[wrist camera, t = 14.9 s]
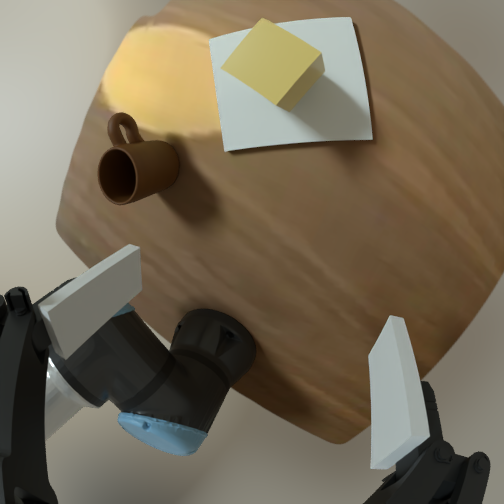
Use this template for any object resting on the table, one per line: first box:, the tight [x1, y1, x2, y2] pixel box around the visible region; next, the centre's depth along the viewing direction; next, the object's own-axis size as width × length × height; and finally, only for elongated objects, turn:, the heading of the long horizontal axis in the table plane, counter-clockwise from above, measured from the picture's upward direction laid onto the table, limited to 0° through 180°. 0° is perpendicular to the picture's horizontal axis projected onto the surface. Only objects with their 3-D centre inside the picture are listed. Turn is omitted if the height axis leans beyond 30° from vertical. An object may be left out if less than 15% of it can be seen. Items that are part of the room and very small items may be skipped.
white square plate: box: [209, 17, 373, 151], centre depth 24 cm, size 18×16×9 cm
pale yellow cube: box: [221, 18, 325, 112], centre depth 22 cm, size 6×6×7 cm
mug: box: [98, 112, 179, 205], centre depth 32 cm, size 12×8×9 cm, turn 9°
